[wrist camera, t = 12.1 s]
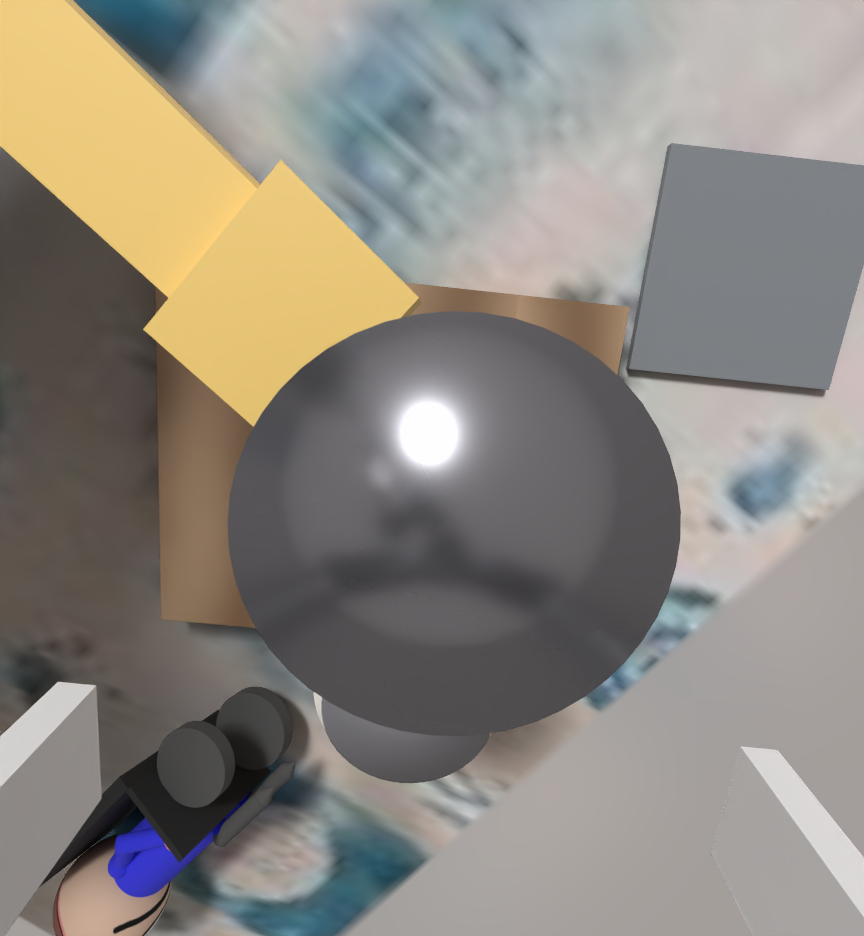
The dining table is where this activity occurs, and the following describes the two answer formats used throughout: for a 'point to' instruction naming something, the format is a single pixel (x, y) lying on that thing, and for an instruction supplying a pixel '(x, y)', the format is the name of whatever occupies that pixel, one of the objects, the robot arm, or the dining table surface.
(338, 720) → the plug
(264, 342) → the bar
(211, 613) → the socket board
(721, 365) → the mat
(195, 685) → the dining table surface
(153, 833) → the character figurine
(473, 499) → the post
